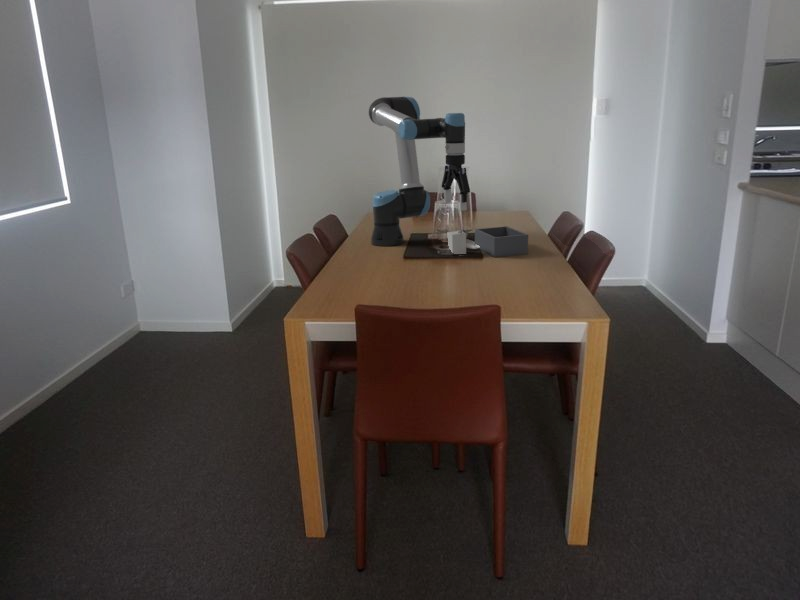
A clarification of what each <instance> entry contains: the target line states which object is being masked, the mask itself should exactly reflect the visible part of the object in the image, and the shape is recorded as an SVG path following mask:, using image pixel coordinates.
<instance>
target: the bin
mask: <svg viewBox="0 0 800 600" xmlns="http://www.w3.org/2000/svg"><path fill="white" fill-rule="evenodd" d="M475 244H477V245H479V246H480V250H479V251H481V252H483V253H485V254H487V255H489V256H491V257H493V258H501V257H510V256H520V255H521V256H522V255H528V253H529V234H528V233H525V232H524V231H523V232H522V231H520V230H518V229H515V228H512V227H510V226H506V225H505V226H496V227H495V226H494V227H485V228H475V229H474V245H475Z"/></svg>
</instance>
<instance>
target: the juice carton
mask: <svg viewBox="0 0 800 600" xmlns="http://www.w3.org/2000/svg"><path fill="white" fill-rule="evenodd" d="M446 233H447V236H446V238H448V246H449V249H450V250H451V252H452V253H454V254H466V255H467V233H466V232H464V231H463V230H462V229H458V230H455V231H447V232H446Z"/></svg>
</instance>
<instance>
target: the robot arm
mask: <svg viewBox="0 0 800 600" xmlns="http://www.w3.org/2000/svg"><path fill="white" fill-rule="evenodd" d="M368 117H369V119H370V121H371V122H372V123H373V124H375V125H376V126H379V127H382V126H383V127H387V128H389V129H391V131H392V132H394V135H395V142H396V143H395V144H396V150H397V159H398V160H397V161H398V167H399V173H400V174H399V176H400V184H401V185H400V187H399V189H398V190H395V189H390V190H389V189H388V190H382V191H379V192H376V193H375V194H374V195H373V196H372V197H373V198H372V211H373V228H372V229H373V230H372V234H371V237H370V244H371V245H373V246H379V247H391V246H393V247H394V246H398V245H401V244H404V242H405V238H404V234H403V231H402V229H401V226H400V220H401V219H407V218H418V217H422V216H426V215H427V214H428V212H429V210H430V208H431V207H430V206H431V195H430V193H429V191H428V190H426V189H425V187H424V185H423V184H422V183H421V179H420V172H419V163H418V156H417V146H416V145H417V144H416V140H422V139H424V140H425V139H426V140H429V139H445V146H444V148H445V154H446V155H445V164H446V165H444V173H443V177H442V182H441V188H442V189H443V190H444V191H443V192H444V195H443V196H444V197H443V198H444V199H443V200H444V202H443V203H445V205H444V207H447V206H446V204H447V203H449V202H451V203H452V184H453V182H454V180H455V181H456V184H457V186H458V189H459V191H460V192H459V211H460V212H465V211H467V210H468V203H467V202H468V201H467V200H468V198H467V197H468V194H469V193H471V189H470V188H471V187H470V184H469V178H468V175H467V167H463V165H465V164H466V155H465V152H466V143H465V142H466V137H465V136H466V120H465V118H466V117H465V114H464V113H463V112H452V113H451V112H450V113H446V114H445V116H444V117H445V118H444V117H436V118H423V119H420V118H421V109H420V106H419V102H417V100H416V99H415V98H414V97H412V96H391V97H384V96H383V97H379V98H377V99H375V100H374V101H373V102H372V103H371V104H370V105H369V108H368Z"/></svg>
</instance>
